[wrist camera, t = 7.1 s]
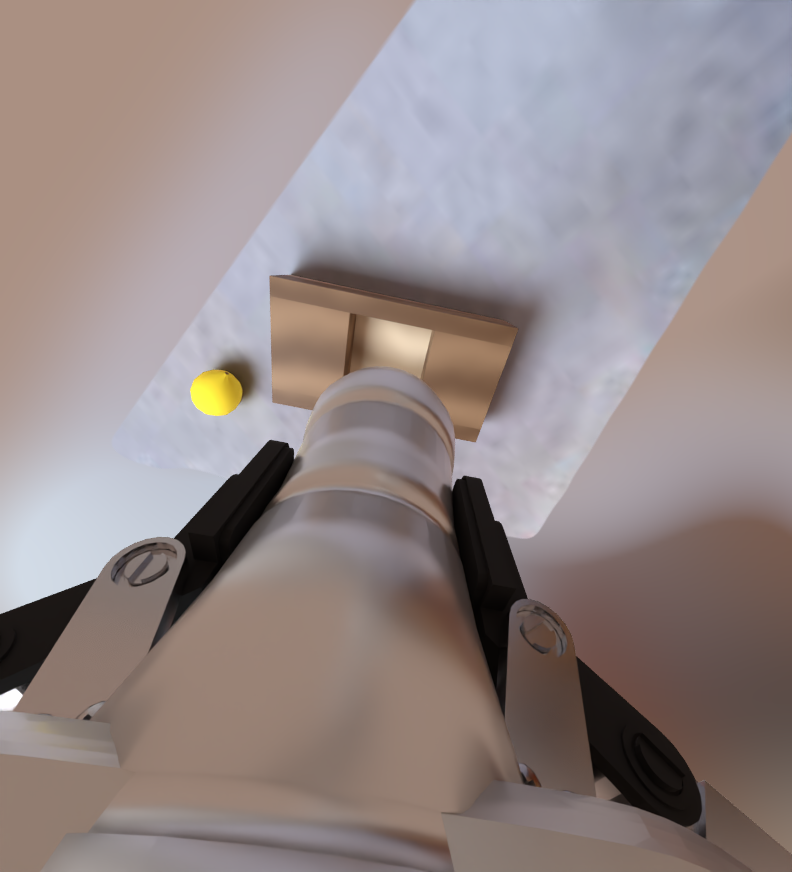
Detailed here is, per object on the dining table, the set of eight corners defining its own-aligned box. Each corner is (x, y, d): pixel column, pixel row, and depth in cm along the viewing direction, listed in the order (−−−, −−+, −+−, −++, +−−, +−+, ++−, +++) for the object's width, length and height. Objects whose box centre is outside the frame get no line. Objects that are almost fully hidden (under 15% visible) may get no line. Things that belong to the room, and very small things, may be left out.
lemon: (238, 411, 41) (213, 433, 37) (203, 386, 40) (172, 406, 36) (259, 379, 38) (234, 399, 33) (221, 350, 36) (189, 367, 32)
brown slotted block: (290, 274, 32) (269, 275, 28) (504, 320, 33) (518, 328, 28) (289, 386, 38) (272, 402, 34) (468, 422, 39) (475, 442, 35)
